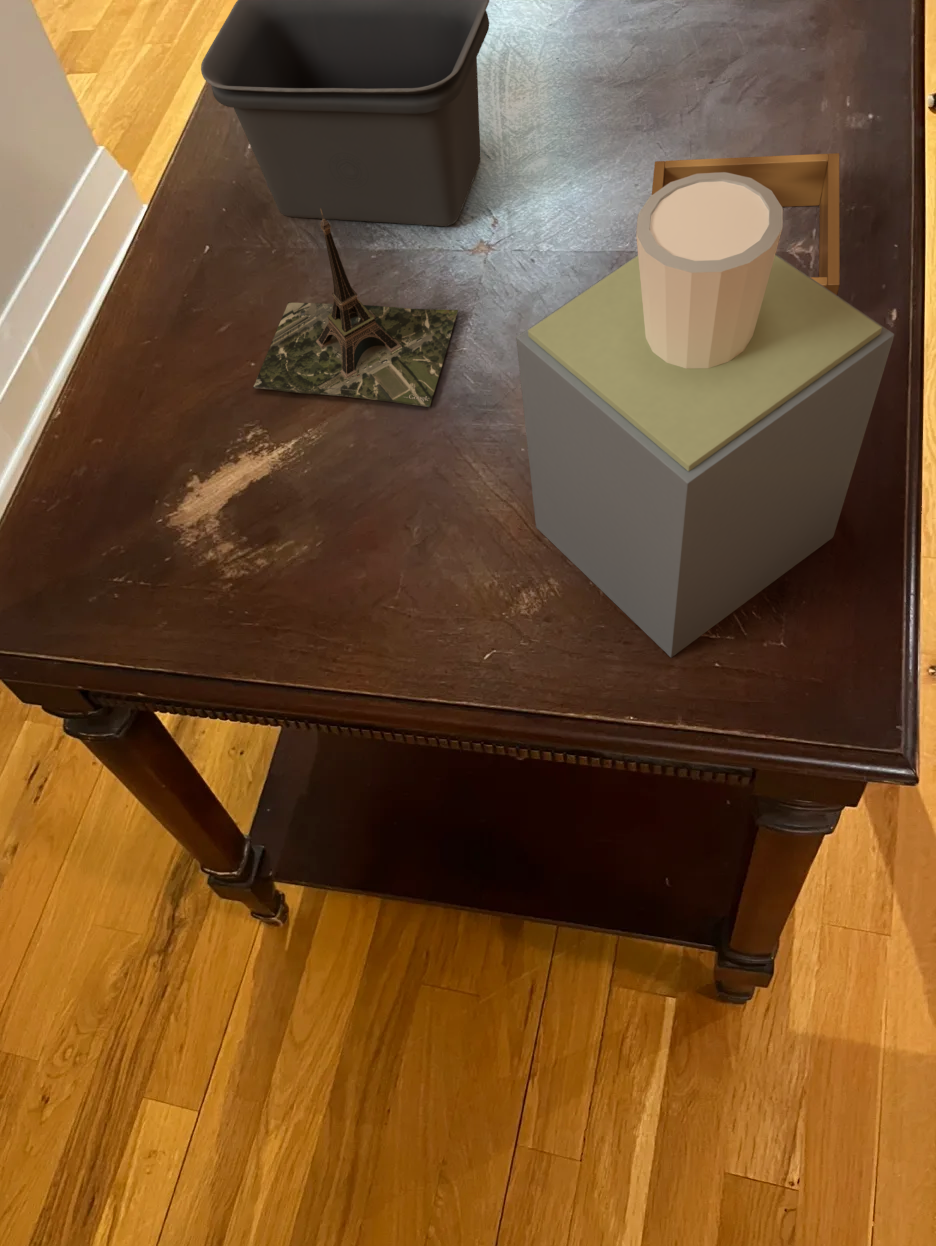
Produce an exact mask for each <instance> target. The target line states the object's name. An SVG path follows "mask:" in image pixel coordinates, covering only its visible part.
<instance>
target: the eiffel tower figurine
mask: <svg viewBox="0 0 936 1246" xmlns="http://www.w3.org/2000/svg"><path fill="white" fill-rule="evenodd" d="M320 210H321V208H320ZM321 214H322V217H323V213H322V210H321ZM319 226H320V229H321V230H322V233H323V236H324V241H325V245H326V250H327V255H328V260H329V266H330V271H331V278H332V285H333V292H332V293H331V296H332V297H333V303H325V302H323V303H320V302H292V301H291V302H287V304H286V307H285V309H284V312H283V314H282V316H281V319H280V322H279V324H278V326H277V329H276V331H275V334H274V336H273V338H272V341H271V343H270V346H269V348H268V350H267V353H266V355H265V358H264V360H263V363H262V365H261V368H260V370H259V373H258V375H257V377H256V380H255V381H254V384H253V387H252V389H260V390H270V391H271V390H272V391H278V392H279V391H280V392H287V393H296V394H306V395H307V394H308V395H320V396H321V395H322V396H335V397H344V398H345V397H346V398H356V399H365V400H374V401H381V402H391V403H397V404H403V405H411V406H418V407H427V408H429V407H431V404H432V400H433V397H434V394H435V391H436V388H437V384H438V381H439V378H440V374H441V371H442V367H443V364H444V360H445V357H446V354H447V351H448V347H449V343H450V339H451V336H452V332H453V328H454V325H455V322H456V318H457V315H458V313H459V309H437V308H436V309H434V308H433V309H432V308H408V307H407V308H406V307H397V306H385V305H384V306H382V305H371V304H363V303H362V302H361V301H360V300H359V299H358V293H357V292H356V291H355V290H354V289H353V288H352V286H351V284H350V280H349V278H348V276H347V274H346V271H345V269H344V268H345V267H344V266H343V262H342V260H341V257H340V255H339V252H338V249H337V246H336V243H335V239H334V237H333V235H332V231H331V229H332V226H331V224H330V222H329V221H328V219H324V217H323V219H321V221H319Z"/></svg>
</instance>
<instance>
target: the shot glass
mask: <svg viewBox="0 0 936 1246" xmlns="http://www.w3.org/2000/svg"><path fill="white" fill-rule="evenodd" d="M783 209H784V207H782V206H781V205H780V203H779V202H778V200H777V198H776V197H775V195H774V194H773V192H772V191H771V190H770V189H768V188H766V187H765V186H763V185H762V184H760V183H758V182H757V181H755V180H754V179H752V178H749V177H744V176H740V175H735V174H731V173H726V172H720V173H700V174H694V175H691V176H688V177H685V178H682V179H679V180H676V181H673V182H670V183H669V184H667V185H666V186H664V187H663V188H661V189H660V190H659V191H657V192H656V193H654V194H653V195H652V194H651V195H650V196H649V197H648V199H647V200H646V202H645V203H644V205H643V206H642V208H641V209H640V211H639V212H638V214H637V218H636V219H637V220H636V232H635V236H636V248H637V255H638V259H639V270H640V281H641V292H642V303H643V314H644V325H645V335H646V339H647V341H648V343H649V345H650V348H651V350H652V352H653V353H655V354H656V355H657V356H659V357H660V358H661V359H663V360H664V361H665V362H667V363H669V364H673V365H676V366H679V367H683V368H686V369H695V368H711V367H714V366H717V365H720V364H723V363H727V362H729V361H730V360H732V359H733V358H735V357H736V356H737V355H739V354H740V353H741V352H743V351H744V350H745V348H746V347H747V345H748V343H749V342H750V340H751V338H752V336H753V334H754V330H755V326H756V323H757V319H758V315H759V312H760V308H761V305H762V301H763V297H764V294H765V290H766V286H767V283H768V279H769V276H770V272H771V268H772V265H773V261H774V257H775V254H776V255H777V249H778V246H779V242H780V239H781V235H782V231H783V229H784V228H783V225H784V223H783V222H784V221H783V219H784V218H783V217H784V214H783V213H784V211H783Z"/></svg>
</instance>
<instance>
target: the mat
mask: <svg viewBox="0 0 936 1246" xmlns="http://www.w3.org/2000/svg"><path fill="white" fill-rule="evenodd" d="M776 255H777V254H776ZM776 255H775V257H774V261H773V265H772V268H771V272H770V276H769V279H768V283H767V286H766V290H765V294H764V297H763V301H762V305H761V308H760V312H759V315H758V319H757V323H756V326H755V330H754V334H753V336H752V338H751V340H750V342H749V343H748V345H747V347H746V348H745V350H744V351H743V352H741V353H740V354H739V355H737V356H736V357H735V358H733V359H732V360H730V361H729V362H727V363H723V364H720V365H717V366H714V367H711V368H695V369H686V368H683V367H679V366H676V365H673V364H669V363H667V362H665V361H664V360H663V359H661V358H660V357H659V356H657V355H656V354H655V353H653V352H652V350H651V348H650V345H649V343H648V341H647V339H646V335H645V325H644V314H643V303H642V292H641V281H640V270H639V259H638V256H637V257H635V256H634V257H635V258H634V259H632V258H631V259H632V260H631V261H629V260H628V261H629V262H628V263H626V262H625V263H626V264H625V265H623V264H622V265H623V266H622V267H621V268H619V267H618V268H619V269H618V270H616V269H615V270H616V271H615V272H613V271H612V272H613V273H612V274H610V273H609V274H610V275H609V276H607V275H606V276H607V277H606V278H604V277H603V278H604V279H603V280H601V279H600V280H601V281H600V282H598V281H597V282H598V283H597V284H595V283H594V284H595V285H594V284H593V285H594V286H593V287H591V286H590V287H591V288H590V289H588V288H587V289H588V290H587V291H585V290H584V291H585V292H584V293H582V292H581V293H582V294H581V295H579V294H578V295H579V296H578V297H576V296H575V297H576V298H575V299H573V298H572V299H573V300H572V301H570V300H569V301H570V302H569V303H568V304H566V303H565V304H566V305H565V306H563V305H562V306H563V307H562V308H560V307H559V308H560V309H559V310H557V309H556V310H557V311H556V312H554V311H553V312H554V313H553V314H551V313H550V314H551V315H550V316H548V315H547V316H548V317H547V318H545V317H544V318H545V319H544V320H542V319H541V320H542V321H541V320H540V321H541V322H540V323H538V322H537V323H538V324H537V325H535V324H534V325H535V326H534V327H532V326H531V327H532V328H531V329H529V328H528V329H529V330H528V336H529V337H530V338H531V339H532V340H533V341H534V342H535V343H537V344H538V345H539V346H540V347H541V348H543V349H544V350H545V351H546V352H547V353H548V354H550V355H551V356H552V357H553V358H554V359H556V360H557V361H558V362H559V363H560V364H562V365H563V366H564V367H565V368H566V369H567V370H569V371H570V372H571V373H572V374H573V375H575V376H576V377H577V378H578V379H579V380H581V381H582V382H583V383H584V384H585V385H586V386H588V387H589V388H590V389H591V390H592V391H594V392H595V393H596V394H597V395H598V396H599V397H601V398H602V399H603V400H604V401H605V402H607V403H608V404H609V405H610V406H611V407H613V408H614V409H615V410H616V411H617V412H618V413H620V414H621V415H622V416H623V417H624V418H626V419H627V420H628V421H629V422H630V423H631V424H633V425H634V426H635V427H636V428H637V429H639V430H640V431H641V432H642V433H643V434H645V435H646V436H647V437H648V438H649V439H650V440H652V441H653V442H654V443H655V444H656V445H658V446H659V447H660V448H661V449H662V450H664V451H665V452H666V453H667V454H668V455H669V456H671V457H672V458H673V459H674V460H675V461H677V462H678V463H679V464H680V465H681V466H682V467H684V468H685V469H686V470H687V471H690V470H692V469H693V468H694V467H696V466H697V465H698V464H700V463H701V462H703V461H704V460H705V459H707V458H708V457H710V456H711V455H712V454H714V453H715V452H717V451H718V450H719V449H721V448H722V447H724V446H725V445H726V444H728V443H729V442H731V441H732V440H733V439H735V438H736V437H737V436H739V435H740V434H742V433H743V432H744V431H746V430H747V429H749V428H750V427H751V426H753V425H754V424H756V423H757V422H758V421H760V420H761V419H763V418H764V417H765V416H767V415H768V414H770V413H771V412H772V411H774V410H775V409H777V408H778V407H779V406H781V405H782V404H783V403H785V402H786V401H788V400H789V399H790V398H792V397H793V396H795V395H796V394H797V393H799V392H800V391H802V390H803V389H804V388H806V387H807V386H809V385H810V384H811V383H813V382H814V381H816V380H817V379H818V378H820V377H821V376H822V375H824V374H825V373H827V372H828V371H829V370H831V369H832V368H834V367H835V366H836V365H838V364H839V363H841V362H842V361H843V360H845V359H846V358H848V357H849V356H850V355H852V354H853V353H855V352H856V351H857V350H859V349H860V348H862V347H863V346H864V345H866V344H867V343H868V342H870V341H871V340H873V339H874V338H875V337H877V336H878V335H880V333H881V329H882V327H881V326H882V325H881V326H879V325H878V324H879V323H878V324H876V323H875V322H876V321H875V322H873V321H872V320H873V319H872V320H870V319H869V318H868V317H869V316H868V317H866V316H865V315H866V314H865V315H863V314H862V313H863V312H862V313H860V312H859V311H860V310H859V311H857V310H856V309H857V308H856V309H854V308H853V307H854V306H853V307H851V306H850V305H851V304H850V305H848V304H847V303H848V302H847V303H845V302H844V301H845V300H844V301H842V300H841V299H842V298H841V299H839V298H838V297H839V296H838V297H836V296H835V295H834V294H832V293H831V292H829V291H828V290H826V289H825V288H823V287H822V286H820V285H819V284H817V283H816V282H814V281H813V280H811V279H810V278H808V277H807V276H808V275H807V276H805V275H804V274H805V273H804V272H803V273H804V274H803V273H801V272H802V271H801V270H800V271H801V272H800V271H798V270H797V269H798V268H797V269H795V268H794V267H795V266H794V267H792V266H791V265H792V264H791V265H789V264H788V263H789V262H788V263H786V262H785V261H786V260H785V261H783V260H782V259H783V258H782V259H780V258H779V257H780V256H779V257H777V256H776Z"/></svg>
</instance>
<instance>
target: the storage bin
mask: <svg viewBox="0 0 936 1246" xmlns="http://www.w3.org/2000/svg"><path fill="white" fill-rule="evenodd" d="M489 3H490V0H237V1H236V2H235V3H234V5H233V7H232V8H231V10H230V12H229V14H228V16H227V18H226V19H225V20H224V22H223V25H221V28H220V29H219V31H218V33H217V34H216V36H215V37H214V40H213V41H212V43H211V44H210V47H209V48H208V50H207V51H206V54H205V55H204V57H203V59H202V60H201V61H202V62H201V64H200V72H201V75H202V78H203V79H204V80H205V82H206V83H207V84H209V85H210V86H211V87H210V88H211V92H212V95H213V97H214V99H215V100H216V101H217V103H219V104H220V105H223V106H225V107H227V108H233V110H234V112H235V114H236V116H237V118H238V121H239V123H240V125H241V127H242V130H243V133H244V134H245V137H246V139H247V141H248V143H249V145H250V148H251V150H252V153H253V155H254V157H255V159H256V161H257V164H258V166H259V168H260V171H261V173H262V175H263V177H264V180H265V182H266V185H267V187H268V189H269V191H270V194H271V196H272V198H273V201H274V203H275V206H276V207H277V210H278V212H279V213H280V214H281V215H282V216H285V217H289V218H301V219H302V218H304V219H319V220H320V219H321V220H322V219H323V217H324V219H326V220H338V221H354V222H355V221H356V222H371V223H383V224H384V223H385V224H387V223H388V224H402V225H403V224H405V225H421V226H434V227H435V226H436V227H449V226H452V225H454V224H455V223H456V222H457V221H458V219H459V218H460V215H461V212H462V210H463V207H464V204H465V202H466V200H467V197H468V195H469V192H470V189H471V188H472V184H473V182H474V179H475V177H476V175H477V172H478V170H479V168H480V163H481V158H482V157H481V156H482V155H481V136H480V135H481V133H480V113H479V112H480V111H479V110H480V109H479V108H480V107H479V81H478V80H479V79H478V56H479V53H480V50H481V48H482V46H483V44H484V42H485V39H486V37H487V34H488V33H489V29H490V19H489V15H488V12H487V8H488V6H489ZM320 208H321V210H322V213H323V217H322V214H321V210H320Z"/></svg>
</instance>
